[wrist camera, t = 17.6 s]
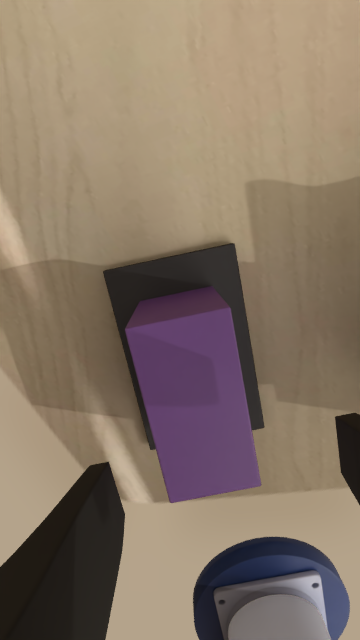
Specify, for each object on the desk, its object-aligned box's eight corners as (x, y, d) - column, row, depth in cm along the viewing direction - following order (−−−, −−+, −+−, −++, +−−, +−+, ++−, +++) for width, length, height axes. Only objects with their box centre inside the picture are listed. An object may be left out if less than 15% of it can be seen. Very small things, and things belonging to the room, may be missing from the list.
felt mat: (262, 423, 20) (264, 428, 19) (151, 445, 20) (150, 450, 20) (232, 243, 17) (234, 243, 17) (104, 270, 17) (102, 271, 17)
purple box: (212, 285, 17) (230, 306, 12) (236, 417, 19) (261, 486, 14) (139, 301, 17) (124, 328, 12) (170, 430, 19) (169, 504, 14)
